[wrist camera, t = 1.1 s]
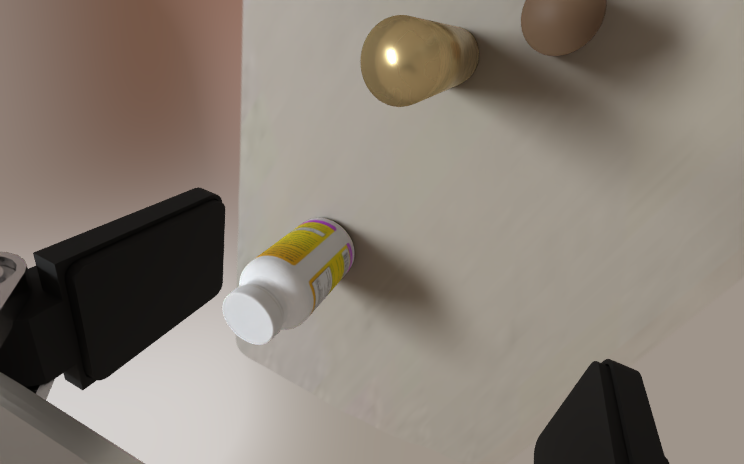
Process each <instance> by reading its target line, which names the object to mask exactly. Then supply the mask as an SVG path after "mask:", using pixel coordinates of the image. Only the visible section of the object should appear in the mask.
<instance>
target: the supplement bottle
mask: <svg viewBox="0 0 744 464" xmlns="http://www.w3.org/2000/svg"><path fill="white" fill-rule="evenodd" d="M354 254H355V253H354V246H353V243H352V240H351V238H350V236H349V235H348V233H347V232H346V231H345V230H344V229H343V228H342V227H341V226H340V225H339V224H337V223H336V222H334V221H332V220H329V219H325V218H313V219H309V220H307V221H305V222H304V223H302V224H301V225H299V226H298V227H297V228H295V229H294V230H293V231H291V232H290V233H289V234H287V235H286V236H285V237H283V238H282V239H281V240H279V241H278V242H277V243H275V244H274V245H273V246H271V247H270V248H269V249H267V250H266V251H265V252H263V253H262V254H260V255H259V256H258V257H256V258H255V259H254V260H252V261H251V262H250V263H249V264H248V265H247V266H246V267H245V268H244V270H243V272H242V274H241V277H240V282H239V287H237V288H236V289H235V290H233V291H232V292H231V293H230V294H229V295H227V297H226V298H225V300H224V302H223V314H224V317H225V320H226V322H227V324H228V326H229V327H230V328H231V329H232V331H233V332H234V333H235V334H236V335H238V336H239V337H240V338H241V339H243V340H245V341H246V342H249V343H251V344H256V345H262V344H266V343H268V342H269V341H271V340H272V339H273V338H274V336H275V335H277V334H278V333H279V332H280V330H287V329H292V328H295V327H297V326H299V325H301V324H302V323H303V322H304V321H305V320H306V319H307V318H308V317H309V316H310V315H311V314H312V312H313V311H314V310H315V309H316V308H317V307H318V306H319V304H320V303H321V302H322V301H323V300H324V299H325V297H326V296H327V295H328V294H329V293H330V292H331V291H332V290H333V288H334V287H335V286H336V285H337V284H338V283H339V282H340V280H341V279H342V278H343V277H344V276H345V275H346V273H347V272H348V271H349V269H350V268H351V266H352V264H353V261H354Z"/></svg>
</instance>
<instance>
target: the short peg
mask: <svg viewBox="0 0 744 464" xmlns="http://www.w3.org/2000/svg"><path fill="white" fill-rule="evenodd" d="M605 12H606V0H526V1H525V4H524V7H523V10H522V15H521V27H522V32H523V35H524V37H525V39H526V41H527V42H528V44H529V45H530V46H531V47H532V48H533V49H534V50H536V51H538V52H539V53H542V54H544V55H549V56H560V55H566V54H569V53H572V52H574V51H576V50H578V49H579V48H581V47H582V46H584V45H585V44H586V43H587V42H589V41H590V40H591V39H592V37H593V36H594V35H595V34H596V32H597V31H598V29H599V28H600V26H601V24H602V21H603V19H604V16H605Z"/></svg>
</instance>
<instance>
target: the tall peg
mask: <svg viewBox="0 0 744 464" xmlns="http://www.w3.org/2000/svg"><path fill="white" fill-rule="evenodd" d="M478 60H479V49H478V45H477V42H476V40H475V38H474V37H473V35H472V34H471V33H470V32H468V31H467V30H465V29H463V28H460V27H456V26H451V25H447V24H442V23H438V22H433V21H429V20H425V19H420V18H416V17H411V16H407V15H397V16H392V17H389V18H386V19H384V20H383V21H381V22H380V23H378V24H377V25H376V26H375V27H374V28H373V29H372V30H371V32H370V33H369V34H368V36H367V38H366V40H365V42H364V45H363V48H362V53H361V71H362V75H363V79H364V81H365V84H366V86H367V87H368V89H369V90H370V92H371V93H372V94H373V95H374V96H375V97H376V98H377V99H378V100H380V101H381V102H383V103H385V104H387V105H391V106H396V107H404V106H409V105H412V104H415V103H417V102H419V101H422V100H424V99H427V98H429V97H431V96H434V95H436V94H438V93H441V92H443V91H445V90H448V89H450V88H452V87H455V86H457V85H459V84H462V83H463V82H465V81H466V80H467V79H469V78H470V77H471V75H472V74H473V73H474V71H475V69H476V67H477V64H478Z"/></svg>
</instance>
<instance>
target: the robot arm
mask: <svg viewBox="0 0 744 464" xmlns="http://www.w3.org/2000/svg"><path fill="white" fill-rule="evenodd" d="M224 228H225V206H224V204H223V203H222V200H221V198H220V196H218V195H216V194H214V193H212V192H209V191H207V190H204V189H202V188H194V189H192V190H189V191H187V192H184V193H182V194H179V195H177V196H174V197H172V198H169V199H167V200H164V201H162V202H159V203H157V204H155V205H152V206H149V207H147V208H144V209H142V210H139V211H137V212H135V213H132V214H129V215H127V216H124V217H122V218H119V219H117V220H114V221H112V222H109V223H107V224H104V225H102V226H99V227H97V228H94V229H92V230H89V231H87V232H85V233H82V234H79V235H77V236H74V237H72V238H69V239H67V240H64V241H62V242H59V243H57V244H54V245H52V246H49V247H47V248H44V249H42V250H39V251H37V252H34V253H33V254H34V258H35V262H36V266H34V267H32V268H29V269H28V268H27V265H26V262H25V260H24V259H23V258H21V257H20V256H18V255H15V254H12V253H8V252H0V464H144V463H143V462H141V461H140V460H138V459H137V458H135V457H134V456H132V455H130V454H129V453H127V452H126V451H124V450H123V449H121V448H120V447H118V446H117V445H115V444H113V443H112V442H110V441H109V440H107V439H105V438H104V437H102V436H101V435H99V434H98V433H96V432H95V431H93V430H91V429H90V428H88V427H87V426H85V425H84V424H82V423H80V422H79V421H77V420H76V419H74V418H73V417H71V416H69V415H68V414H66V413H65V412H63V411H62V410H60V409H58V408H57V407H55V406H54V405H52V404H51V403H49V402H48V401H46V399H47V396H48V394H49V391H50V389H51V387H52V384H53V381H54V379H55V378H56V377H58V376H59V375H61V374H62V373H64V376H65V379H66V380H67V381H69V382H70V383H72V384H73V385H75V386H77V387H79V388H80V389H82V390H84V389H85V388H87V387H88V386H89V385H91V384H92V383H94V382H95V381H96V380H102V379H105V378H107V377H108V376H110V375H111V374H112V373H114V372H115V371H116V370H118V369H119V368H120V367H122V366H123V365H124V364H126V363H127V362H128V361H130V360H131V359H132V358H134V357H135V356H136V355H138V354H139V353H140V352H142V351H143V350H144V349H146V348H147V347H148V346H150V345H151V344H152V343H154V342H155V341H156V340H158V339H159V338H160V337H161V336H163V335H164V334H166V333H167V332H168V331H169V330H171V329H172V328H174V327H175V326H176V325H178V324H179V323H180V322H182V321H183V320H184V319H186V318H187V317H188V316H190V315H191V314H192V313H194V312H195V311H196V310H198V309H199V308H200V307H202V306H203V305H204V304H206V303H207V302H208V301H210V300H211V299H212V298H214V297H215V296H216V295H217V294H218V293H219V291H220V290H221V287H222V283H223V255H224ZM534 464H669V462H668V460H667V459H666V457H665V456H664V453H663V449H662V446H661V442H660V439H659V435H658V432H657V429H656V425H655V422H654V418H653V415H652V411H651V408H650V405H649V401H648V397H647V394H646V391H645V387H644V384H643V380H642V377H641V375H640V373H639V372H638V371H636V370H634V369H632V368H629V367H627V366H625V365H622V364H620V363H617V362H615V361H613V360H610V359H606V360H604V361H603V362H602V363H599V362H597V361H594V362H592V363H591V365H590V366H589V367H588V369H587V370H586V371H585V373H584V374H583V376H582V377H581V378H580V380H579V381H578V383H577V384H576V385H575V387H574V388H573V390H572V391H571V392H570V394H569V395H568V397H567V398H566V399H565V401H564V402H563V404H562V405H561V406H560V408H559V409H558V411H557V412H556V413H555V415H554V416H553V418H552V419H551V420H550V422H549V423H548V425H547V426H546V427H545V429H544V430H543V432H542V433H541V434H540V436H539V438H538V440H537V442H536V445H535V451H534Z"/></svg>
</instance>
